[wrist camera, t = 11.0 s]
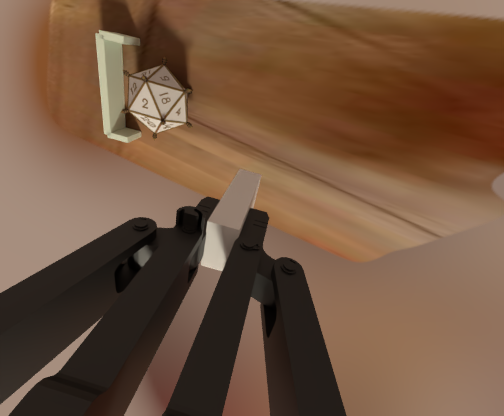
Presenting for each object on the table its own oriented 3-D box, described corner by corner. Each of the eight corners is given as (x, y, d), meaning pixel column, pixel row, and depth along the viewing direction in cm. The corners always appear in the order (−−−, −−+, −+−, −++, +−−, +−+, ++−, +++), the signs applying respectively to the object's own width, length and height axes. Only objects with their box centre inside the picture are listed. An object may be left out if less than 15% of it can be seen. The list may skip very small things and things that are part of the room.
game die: (196, 99, 39) (210, 142, 34) (142, 116, 39) (146, 163, 33) (172, 34, 31) (184, 76, 26) (104, 55, 31) (102, 102, 26)
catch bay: (139, 38, 33) (123, 36, 30) (141, 136, 39) (127, 142, 36) (114, 31, 33) (95, 28, 30) (119, 130, 40) (104, 136, 37)
